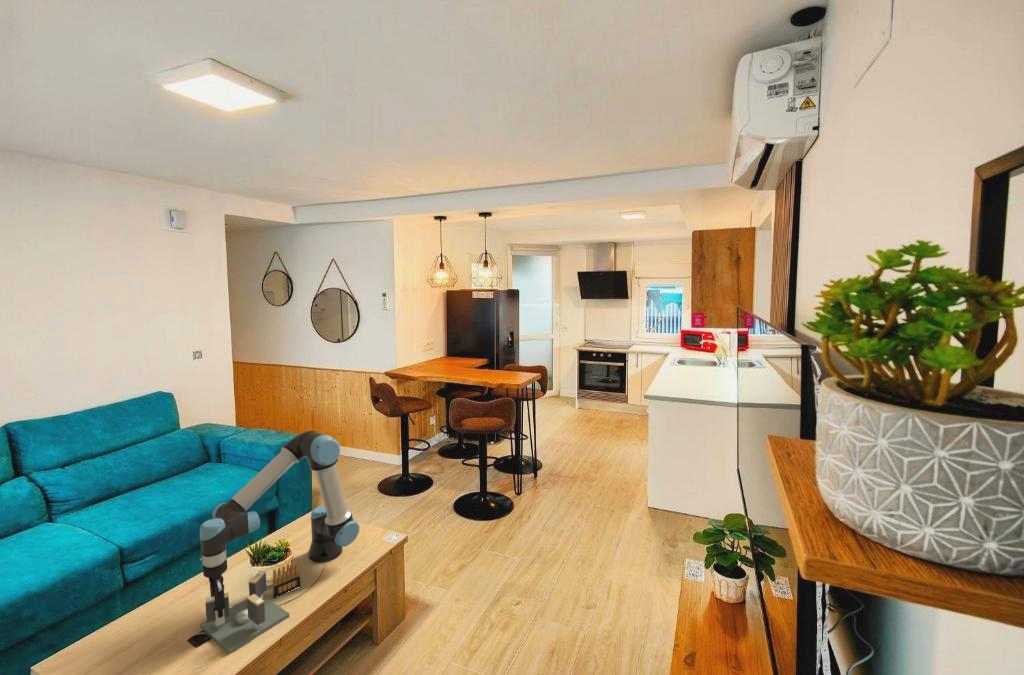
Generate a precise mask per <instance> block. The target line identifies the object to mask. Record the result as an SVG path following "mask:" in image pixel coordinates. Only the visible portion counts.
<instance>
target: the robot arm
mask: <svg viewBox="0 0 1024 675" xmlns="http://www.w3.org/2000/svg"><path fill="white" fill-rule="evenodd" d="M280 449H281V450H280V452H279V453H278V454H277V455H276V456H275V457H273V459H271V461H270V462H269V463H267V464H266V465H265V466H264V467H263V468H262V469H260V471H259V472H258V473H257V474H256V475H255V476H254V477H252V478H251V480H250V481H248V482H247V483H246V485H244V487H242V488H241V489H240V490H239V491H238V492H237V493H236V494H234V496H233V497H232V498H231V499H230V500H228V501H227V502H221V503H219V504H217V505H216V506H215V507H214V508H213V511H212V514H211V516H212V518H210V519H208V520H206V521H204V522H203V523H202V524H201V525H200V527H199V541H200V549H201V557H200V558H199V561H201V562H202V576H203V577H205V578H208V582H209V590H210V591H209V592H210V597H212V596H214V598H215V607H216V608H215V609H213V611H215V617H216V626H219V625H221V624H223V623H225V615H224V608H225V598H224V593H225V584H224V576H223V574H224V573H225V572H226V571H227V570H228V560H227V557H228V556H227V554H228V553H227V543H229V542H232V541H234V540H236V539H239V538H242V537H245V536H246V535H250V534H251V533H254V532H255V531H257V530H259V528H260V527H261V518H260V516H259V514H258V513H257V511H255V510H254V511H253V510H252V511H248V512H246V511H247V510H248V509H249V508H250V507H252V505H254V503H255V502H256V501H257V500H258V499H259V498H260V497H261V496H263V494H264V493H266V491H267V490H269V489H270V488H271V486H273V485H274V484H275V482H277V480H279V478H281V477H282V476H283V475H284V474H285V473H286V472H287V471H288V470H289V469H290V468H291V467H292V466H293V465H294V464H298V463H299V462H300V461H302V460H303V459H304V458H306V459H307V461H308V464H309V469H310V470H311V471H313V472H314V473H315V476H316V480H317V483H318V487H319V491H320V495H321V498H322V501H323V505H320V506H317V507H315V508H314V509H313V510H312V511H311V514H310V520H311V521H310V524H311V525H310V526H311V528H310V529H311V543H310V546H309V549H308V559H309V560H310V561H311V562H314V563H326V562H330V561H333V560H335V559H337V558H338V557H339V556H341V554H343V547H347V546H349V545H351V544H352V543H354V542H355V541H356V539H357V537H358V536H359V533H360V524H359V523H358V521H356V520H354V517H353V513H352V510H351V509H350V508H347V505H346V501H345V496H344V493H343V489H342V486H341V480H340V477H339V473H338V470H337V466H336V465H337V463H338V461H339V455H340V453H341V446H340V443H339V442H338V441H337V439H335V438H334V437H332V436H330V435H326V434H324V433H320V432H318V431H315V430H306V431H303V432H300V433H299V434H296V435H295V436H294V437H292V438H291V439H290V440H288V441H287V443H285V444H284V445H283V446H282V447H281V448H280ZM245 512H246V513H245Z"/></svg>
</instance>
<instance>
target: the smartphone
mask: <svg viewBox="0 0 1024 675" xmlns="http://www.w3.org/2000/svg"><path fill="white" fill-rule="evenodd" d="M211 640H213V639H212V638H211V637H210V636H209V635H208V634H207V633H206V632H204V631H203V630H202V629H201V631H198V632H197V633H196V634H194V635H192V636H190V637H189V638H188V639H187V640H186V642H187V643H188V644H190V645H192V646H193V647H194V648H200V647H201V646H203V645H205V644H206V643H207V642H209V641H211Z"/></svg>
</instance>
